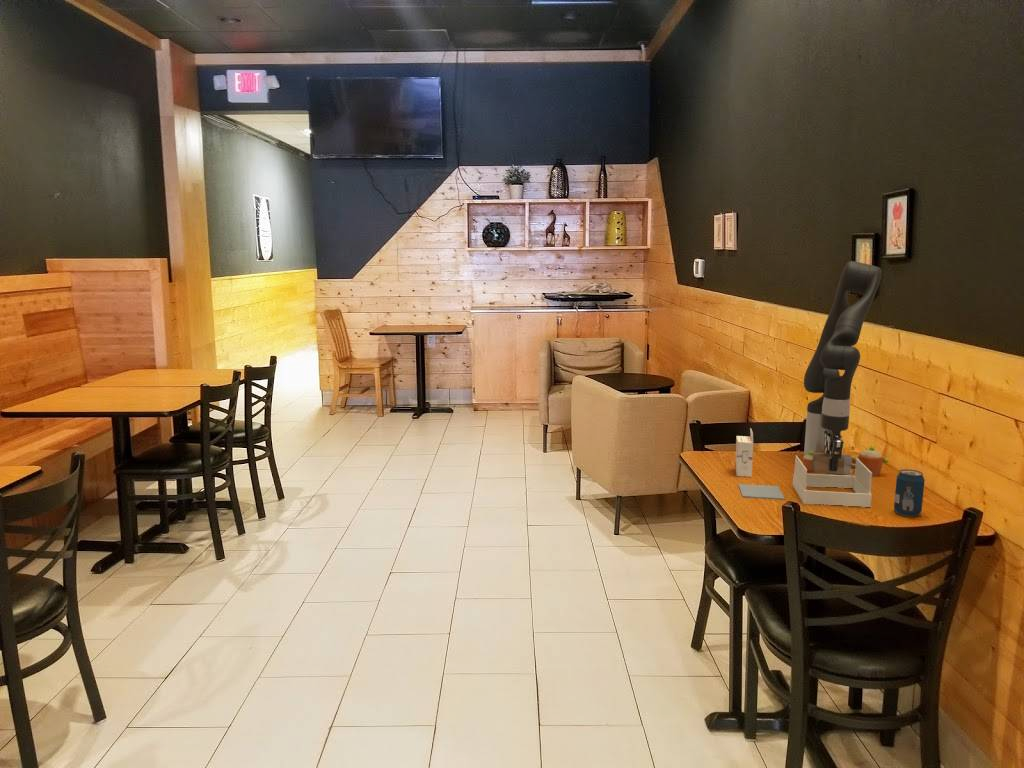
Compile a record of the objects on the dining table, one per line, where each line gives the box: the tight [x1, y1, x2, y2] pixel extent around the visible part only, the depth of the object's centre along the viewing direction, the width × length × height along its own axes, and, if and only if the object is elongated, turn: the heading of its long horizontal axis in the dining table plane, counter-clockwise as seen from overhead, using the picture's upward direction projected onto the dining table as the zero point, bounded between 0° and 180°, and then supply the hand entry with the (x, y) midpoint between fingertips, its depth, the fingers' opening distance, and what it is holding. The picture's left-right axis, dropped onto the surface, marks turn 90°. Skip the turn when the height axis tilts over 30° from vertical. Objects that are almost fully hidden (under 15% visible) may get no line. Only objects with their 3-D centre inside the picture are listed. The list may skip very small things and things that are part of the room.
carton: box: [792, 454, 873, 509], centre depth 226 cm, size 18×18×10 cm
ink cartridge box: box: [734, 427, 754, 478], centre depth 249 cm, size 9×5×15 cm, turn 168°
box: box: [812, 452, 852, 475], centre depth 225 cm, size 5×10×5 cm, turn 79°
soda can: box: [893, 468, 926, 517], centre depth 211 cm, size 7×7×12 cm
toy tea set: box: [802, 446, 889, 477], centre depth 251 cm, size 26×16×10 cm, turn 100°
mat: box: [737, 483, 786, 500], centre depth 230 cm, size 12×12×1 cm
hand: (831, 468), depth 225 cm, fingers closed on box, 4 cm apart
